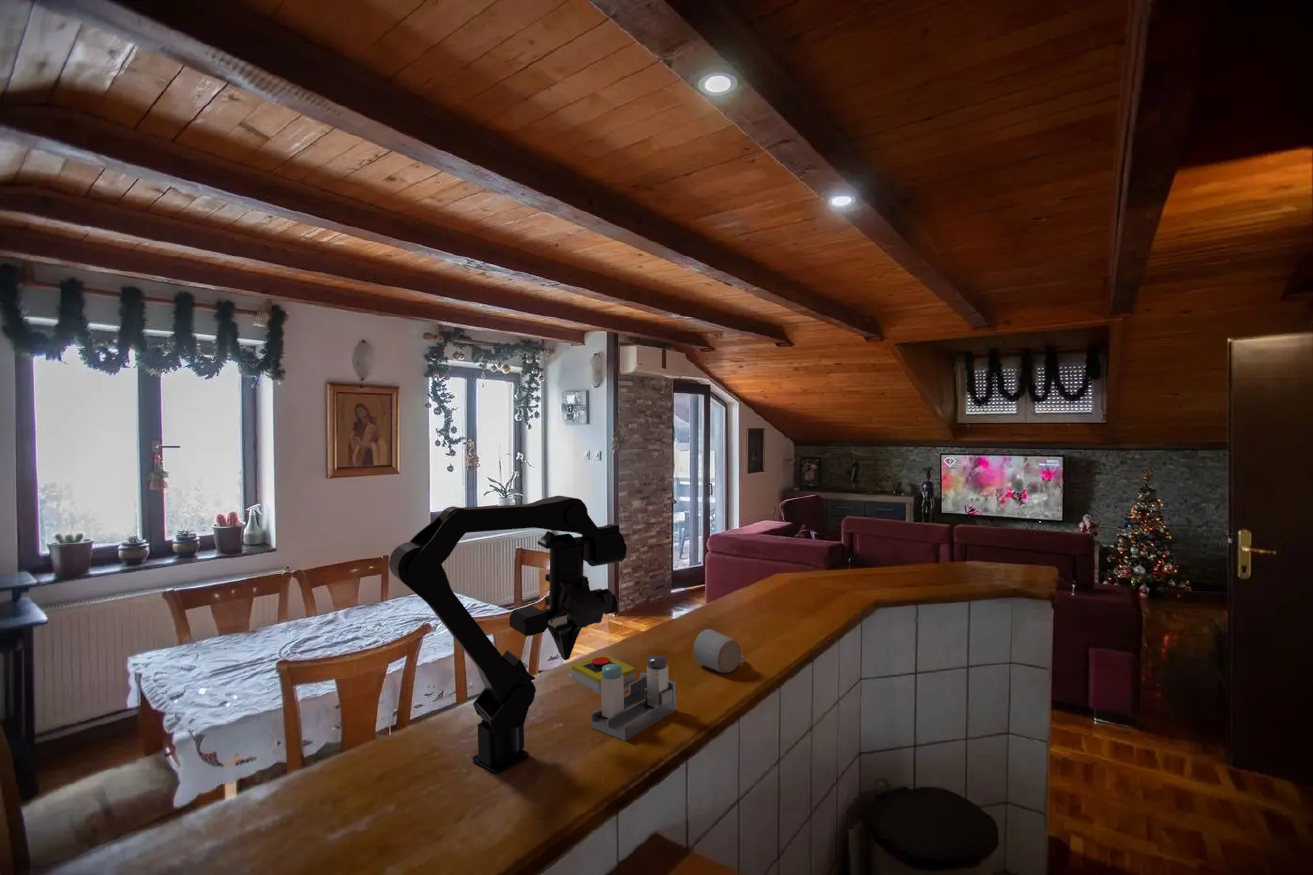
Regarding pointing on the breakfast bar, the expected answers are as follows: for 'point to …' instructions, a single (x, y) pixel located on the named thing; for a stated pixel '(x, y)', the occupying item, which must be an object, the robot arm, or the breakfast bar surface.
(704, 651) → the ceramic mug
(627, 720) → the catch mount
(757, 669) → the breakfast bar surface
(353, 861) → the breakfast bar surface
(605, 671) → the plunger
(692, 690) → the breakfast bar surface
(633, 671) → the emergency button
